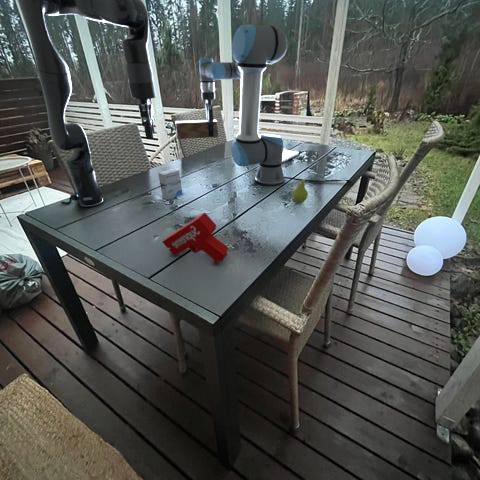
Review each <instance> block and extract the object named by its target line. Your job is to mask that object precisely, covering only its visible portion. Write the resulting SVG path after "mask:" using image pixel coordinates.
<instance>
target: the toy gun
mask: <svg viewBox="0 0 480 480" xmlns="http://www.w3.org/2000/svg"><path fill="white" fill-rule="evenodd" d="M216 229H217V224H216V223H215V222H214V221H213V219H212V218H211V217H210V216H209V215H208V214H207V213H206V212H203V213H201V214H200V215H198V216H197V217H195V218H194V219H192V220H191V221H189V222H187V223H186V224H184V225H183V226H181V227H180V228H178V229H176V230H175V231H174V232H172V233H170V234H169V235H168V236H167V237H166V238H165V239H164V240H162V244H163V245H164V247H166V248H167V249H168V251H169V252H170V253H171V254H172V255H174V256H177V255H178V254H180V253H182V252H184V251H186V250H188V249H189V250H190V252H192V253H193V254H197V253H199V252H200V251H202V252H204V253H205V254H206V255H207V256H209V257H210V258H211V259H212V260H213V262H214V264H218V263H219V262H223V261H224V260H225V258H226V257H227V255H228V251H229V249H230V248H229V247H228V246H227V244H225V243H223V242H222V241H220V239H218V238H217V237H216V236H214V235H213V233H214V232H215V231H216Z"/></svg>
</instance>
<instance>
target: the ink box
mask: <svg viewBox="0 0 480 480" xmlns="http://www.w3.org/2000/svg"><path fill="white" fill-rule="evenodd" d="M157 175H158V180H159V186H160V191H161V197H162V198H164V199H165V200H171V199H174V198H176V197H180V196H182V195H183V194H184V193H183V187H182V179H181V171H180V170H179V169H176V168H172V169H168V170H164V171H160V172H158V173H157Z"/></svg>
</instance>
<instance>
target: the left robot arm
mask: <svg viewBox="0 0 480 480" xmlns="http://www.w3.org/2000/svg"><path fill="white" fill-rule="evenodd" d="M17 2H18V6H19V9H20V11H21V14H22V17H23V21H24V24H25V26H26V30H27V33H28V36H29V40H30V43H31V47H32V53H33V55H34V56H33V57H34V61H35V65H36V71H37V74H38V78H39V82H40V85H41V90H42V93H43V98H44V102H45V107H46V113H47V118H48V120H47V121H48V128H49V133H50V137H51V140H52V142H53V145H54V146H55V147H56V148H57V149H58V150H59V151H61V152H67V151H71V150H72V153H71V154H70V155H69V156H68V157H67V158H66V159H65V165H66V167H67V171H68V173H69V176H70V178H71V181H72V182H71V186H72V189H73V193H70V195H69V199H68V200H69V201H61V202H60V203H61V204H62V205H63V204H64V205H70V204H71V203H72V201H73V202H76V201H77V202H78V205H80V206H81V207H83V208H93V207H96V206H99V205H102V204H103V203H104V198H103V195H102V193H101V188H100V186H99V183H98V179H97V176H96V173H95V169H94V166H93V163H92V154H91V150H90V147H89V141H88V138H87V134H86V132H85V130H84V129H83V127H82V126H81V125H80V124H79V123H76V122H70V123H66V121H65V113H66V108H67V105H68V103H69V100H70V97H71V94H72V90H73V86H72V85H73V84H72V78H71V73H70V68H69V66H68V64H67V61H66V60H65V58H64V56H63V55H62V53H61V52H60V51H59V49H58V48H57V46H56V44H55V42H54V41H53V40H52V38H51V36H50V34H49V30H48V27H47V24H46V19H45V16H50V17H55V16H63V15H77V16H81V17H82V18H85V19H87V20H91V21H95V22H100V23H107V24H111V25H116V26H119V27H125V28H128V37H127V38H124V39H123V40H122V41H121V46H122V52H123V56H124V57H123V58H124V63H125V69H126V77H127V81H128V87H129V92H130V97H131V98H132V99H133V100H139V103H138V110H139V113H140V114H139V115H140V119H141V125H142V127H143V128H144V129H143V130H144V133H145V139H147V140H153V139H154V134H155V132H156V131H155V125H154V118H155V117H154V107H153V104H152V100H151V99H155V98H156V97H157V93H156V92H157V91H156V86H155V80H154V74H153V73H154V72H153V69H152V66H151V60H150V53H149V49H148V47H149V46H148V45H149V30H150V29H149V27H150V25H149V24H150V22H149V21H150V20H149V13H148V10H147V7H146V5H145V3H144V2H143V0H17Z"/></svg>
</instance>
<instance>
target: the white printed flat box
mask: <svg viewBox="0 0 480 480" xmlns="http://www.w3.org/2000/svg"><path fill="white" fill-rule="evenodd" d="M299 154H300V152H299V151H296V150H295V151H293V150H288V149H287V148H286V147H285V146H284V145H283V153H282V164H283V163H285V162H286V161H289V160H291V159H293V158H295V157H296V156H299Z"/></svg>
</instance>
